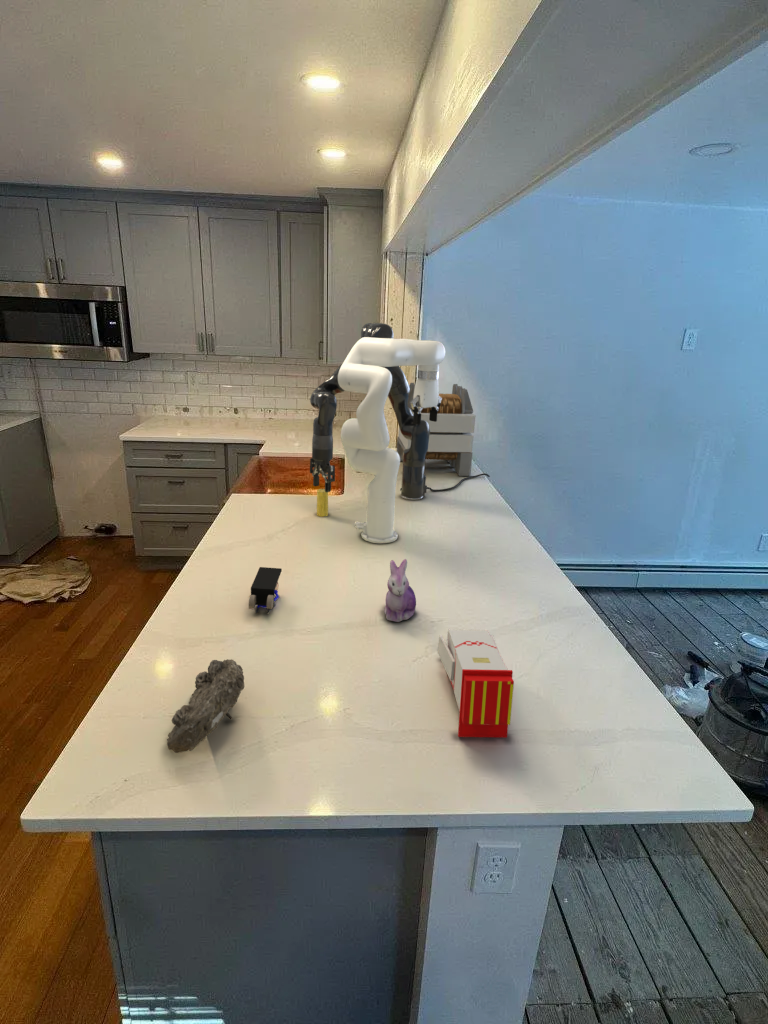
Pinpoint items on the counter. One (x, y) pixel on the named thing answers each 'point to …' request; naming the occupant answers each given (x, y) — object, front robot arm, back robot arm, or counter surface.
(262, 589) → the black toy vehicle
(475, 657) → the toy
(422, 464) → the back robot arm
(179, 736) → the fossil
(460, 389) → the transformer
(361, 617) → the counter surface
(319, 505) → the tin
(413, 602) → the figurine
